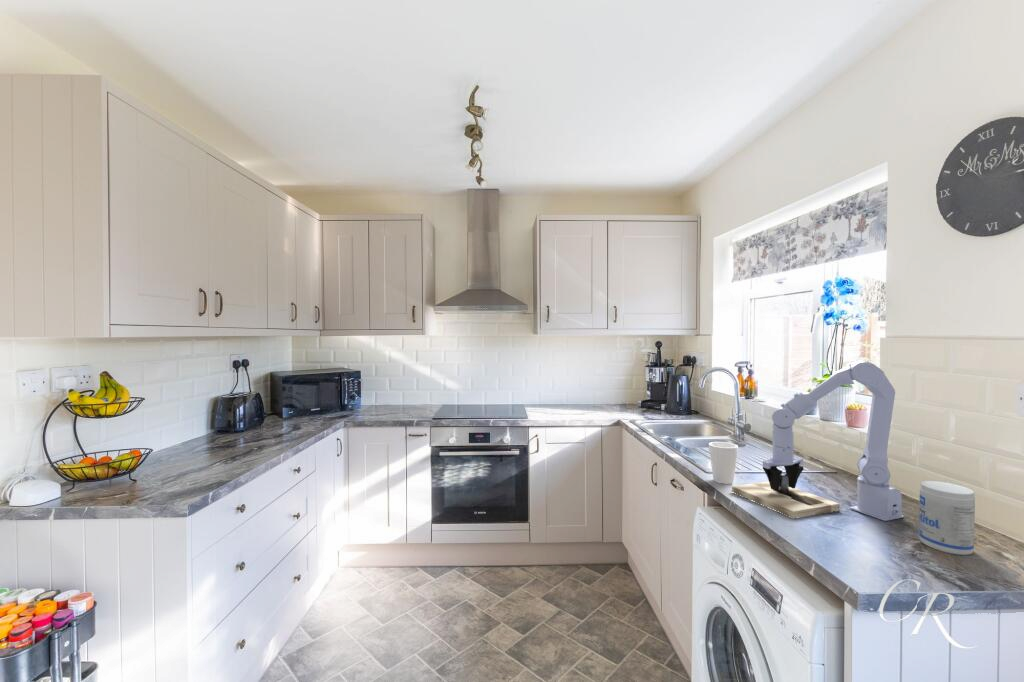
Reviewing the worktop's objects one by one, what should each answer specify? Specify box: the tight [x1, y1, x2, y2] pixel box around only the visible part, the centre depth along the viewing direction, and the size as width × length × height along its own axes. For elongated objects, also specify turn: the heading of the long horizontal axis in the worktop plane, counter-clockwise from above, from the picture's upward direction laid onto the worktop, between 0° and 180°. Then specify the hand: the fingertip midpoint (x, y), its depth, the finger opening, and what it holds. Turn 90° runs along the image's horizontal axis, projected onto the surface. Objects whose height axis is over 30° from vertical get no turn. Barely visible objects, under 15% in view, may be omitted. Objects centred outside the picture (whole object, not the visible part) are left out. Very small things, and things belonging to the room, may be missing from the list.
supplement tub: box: [918, 480, 976, 556], centre depth 106 cm, size 10×10×15 cm
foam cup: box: [708, 441, 739, 485], centre depth 155 cm, size 10×9×13 cm
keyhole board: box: [731, 480, 840, 519], centre depth 136 cm, size 22×18×2 cm
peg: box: [777, 472, 794, 500], centre depth 139 cm, size 5×5×8 cm
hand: (783, 488), depth 139 cm, fingers open, 6 cm apart
